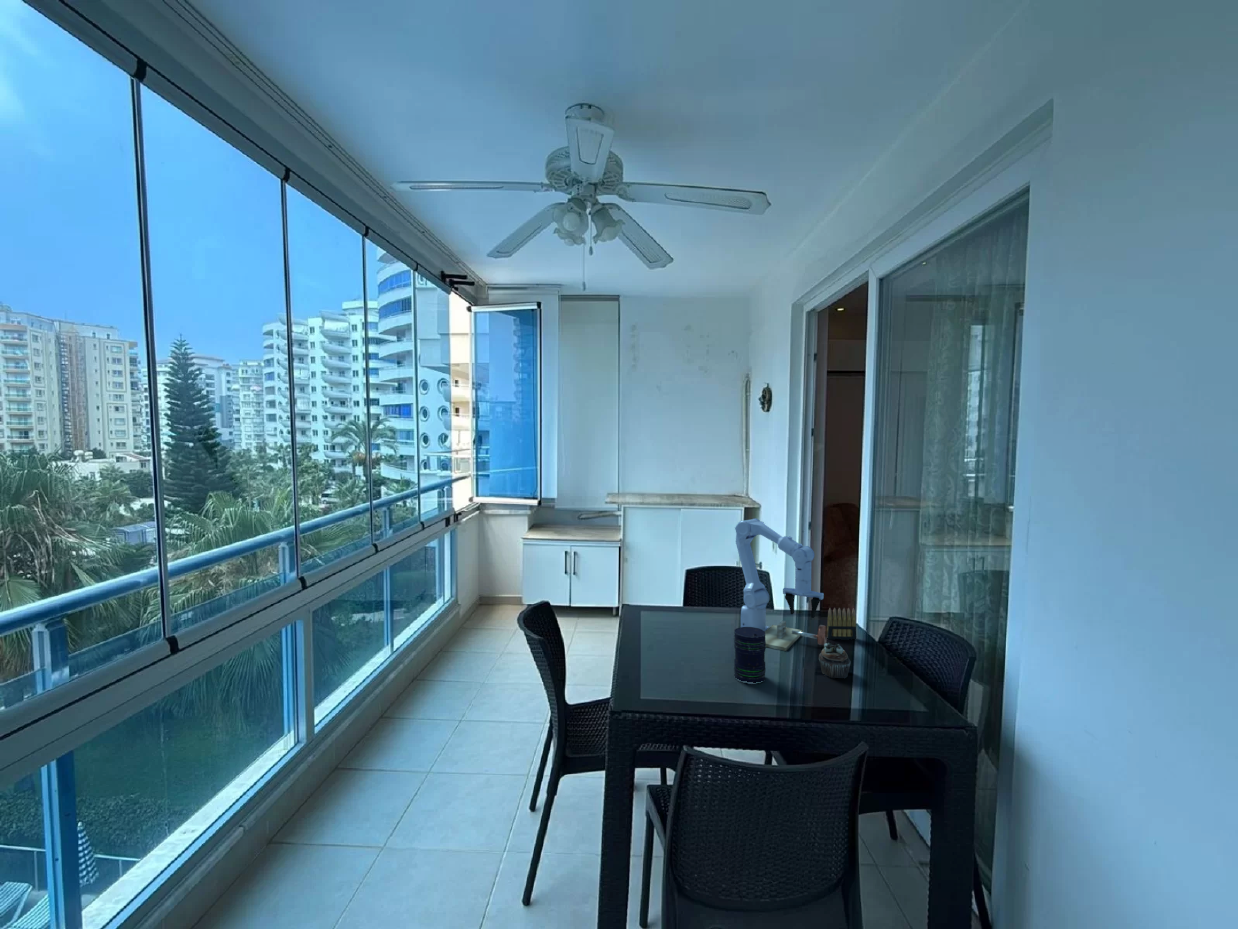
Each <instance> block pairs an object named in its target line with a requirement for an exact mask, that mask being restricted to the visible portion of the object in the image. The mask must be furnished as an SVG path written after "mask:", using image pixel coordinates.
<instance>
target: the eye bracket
mask: <svg viewBox="0 0 1238 929" xmlns="http://www.w3.org/2000/svg"><path fill="white" fill-rule="evenodd" d="M792 630H794V631H799V632H804V631H803V630H802V629H799V628H798V629H797V628H792V627H787V621H786V620H781V621H779V623H778V624H772V625H771V626H769V628H768V629H767V630H766V631H765V640H766V645H765V647H766V648H769V649H774V650H779V651H784V652H787V651H788V650H789V649H790V648H791V646H792V645H793V644H794V643H796V641H797V640H798V639H799V638H800V637H801V636H800V635H794V634H792Z"/></svg>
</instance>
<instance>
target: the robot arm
mask: <svg viewBox="0 0 1238 929" xmlns="http://www.w3.org/2000/svg"><path fill="white" fill-rule="evenodd" d="M734 530H735V544H736V545H735V546H736V548H737V554H738V557H739V560H740V564H741V569H742V572H743V573H742V574H743V575H744V580H745V585H744V586H745V587H744V588H743V591H742V592H743V603H744V605H742V606H741V610H740V627H754V628H759V629H762V630H763V631H766V630H767V629H768V628H770V626H768V625H767V624H766V623H767V621H766V620H767V619H766V618H767V616H766V615H767V614H766V613H767V612H766V611H767V610H766V609H767V604H768V603H769V601H770V595H769V592H768V590H767V588H766V586H765V584H764V583H763V582H761V580H760V578H759V573H758V570H757V566H756V561H755V558H754V557H755V556H754V554H753V553H754V552H753V549H752V546H751V543H752V541H753V540H754V538H755V537H756V536H762V537H764V538H766V539H768V540H769V541H771V542H773V543H775V544H776V545H777V548H778V549H779V550H780V551H782V552H783V553H786V554H787V555H788V556H790V557H791V558H792V560H793V562H794V571H795V572H794V588H791V587H783V588H782V594H783V595H784V599H785V600H786V603H787V605H788V608H789V612H790V615H793V614H795V598H796V596H800V597H806V598H811V599H810V603H811V614H810V617H811V618H812V619H814V618H815V616H816V613H817V609H818V606H819V604H820V602H821V601H822V600H824V596H825V595H824V592H819V591H815V590H812V561H813V560H815V559H814V558H815V552H814V550H813V549H812V547H811V546H808V545H803V544H802V543H801V542H800V543H799V542H797V541H796V540H794V539H793V537H792V536H791V535H790V536H788V535H784V536H782V535H781V534H779V533H778V532H776V531H775V530H773V529H772V528H771V527H769V526H768V525H766V523H764V521H762V520H760V519H758V518H752V519H746V520H745V519H744V520H739V521H738V522H737V524H736V525H735V527H734Z"/></svg>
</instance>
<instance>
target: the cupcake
mask: <svg viewBox="0 0 1238 929" xmlns="http://www.w3.org/2000/svg"><path fill="white" fill-rule="evenodd" d="M818 660H819V664H820V669H821V673H822V674H825V675H827V676H829V677H828V678H830V677H831V678H830V679H835V678H844V679H846V678H847V677H848V676H849V671H850V666H851V662H852V661H851V659H850V658H849V656H848V654H847V652H846V650H844V649H843V647H842V646H841V644H840V643H838V642H836V643H833V642H831V641H827V642H826V644H824V645H823V648H822V650H821V651H820V653H819V654H818ZM825 675H824V676H825ZM827 676H826V677H827Z"/></svg>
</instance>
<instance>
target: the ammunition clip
mask: <svg viewBox="0 0 1238 929" xmlns="http://www.w3.org/2000/svg"><path fill="white" fill-rule="evenodd" d="M856 623H857V618H856V610H855V608H852V610H850V608H849V607H848V608H847V611H846V609H845V607H843V608H842V610H841V608H840V607H838V609H836V607H834V608H833V610H832V609H831V607H829V609H828V612H827V624H826V626H827V631H828V634H827V638H828V639H827V640H835V639H841V640H843V641H851V640H852V639H856V640H857V626H856V625H857V624H856ZM849 639H851V640H849ZM841 640H840V641H841ZM852 641H853V640H852Z"/></svg>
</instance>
